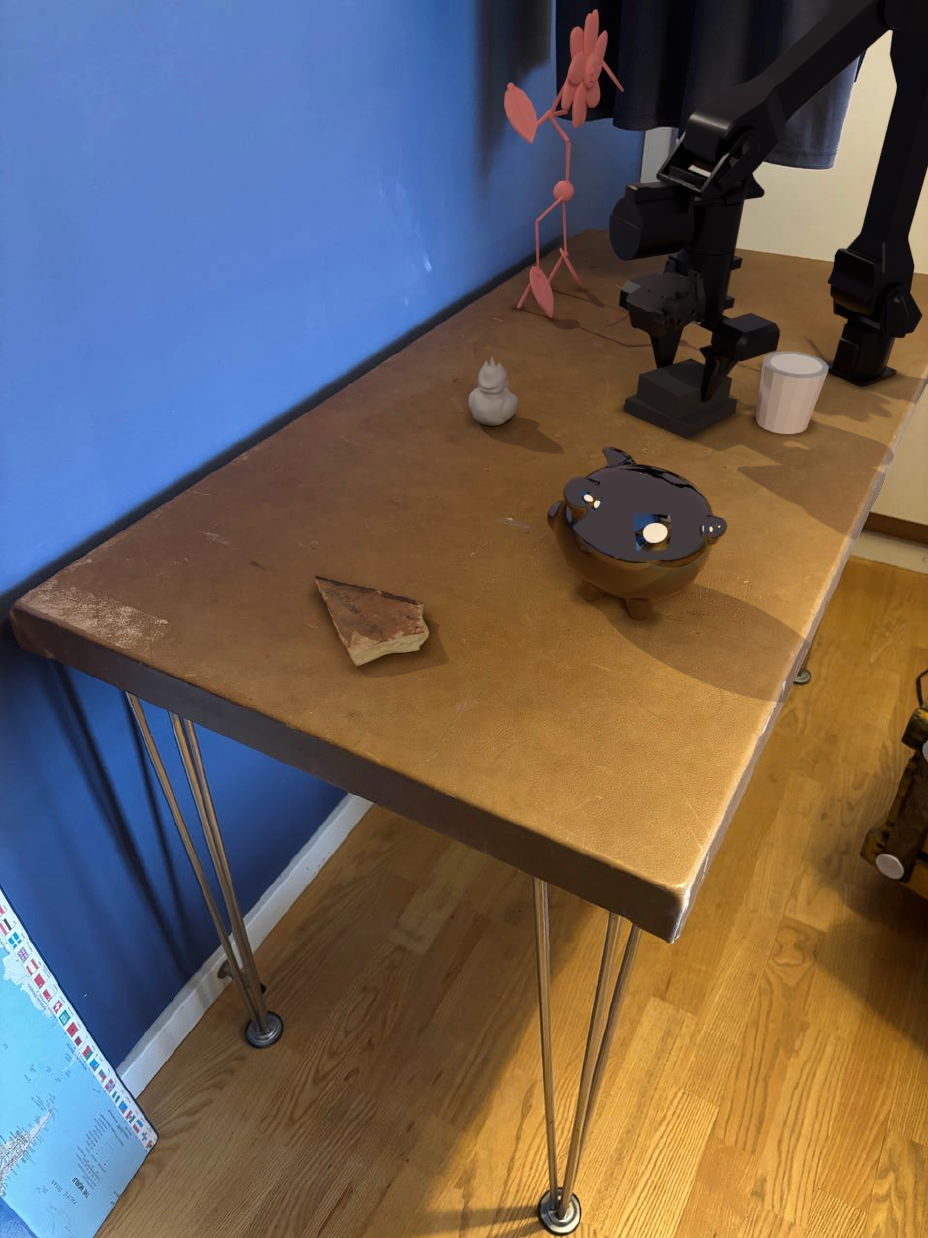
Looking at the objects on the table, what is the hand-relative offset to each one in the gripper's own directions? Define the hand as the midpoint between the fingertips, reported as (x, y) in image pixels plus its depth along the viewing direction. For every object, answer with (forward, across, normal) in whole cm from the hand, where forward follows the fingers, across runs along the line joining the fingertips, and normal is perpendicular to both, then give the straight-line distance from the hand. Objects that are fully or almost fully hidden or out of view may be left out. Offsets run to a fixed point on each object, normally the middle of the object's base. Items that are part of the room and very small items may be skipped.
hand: (683, 389), depth 103 cm
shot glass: (+3, +8, +8) cm, 12 cm away
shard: (+3, +15, -49) cm, 51 cm away
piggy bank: (+3, +22, -27) cm, 35 cm away
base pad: (+3, 0, 0) cm, 3 cm away
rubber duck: (+3, -10, -19) cm, 22 cm away
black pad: (+1, 0, 0) cm, 1 cm away
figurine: (+3, -32, +10) cm, 34 cm away
